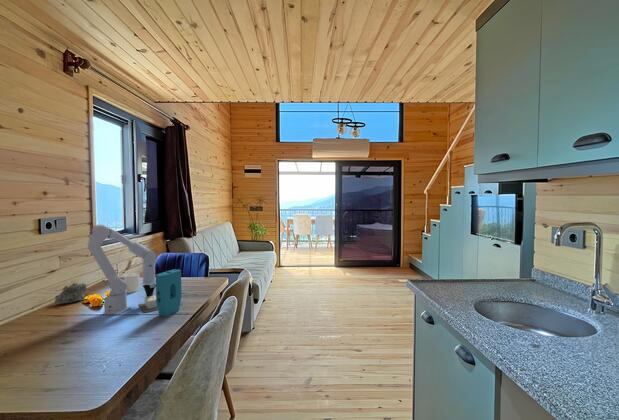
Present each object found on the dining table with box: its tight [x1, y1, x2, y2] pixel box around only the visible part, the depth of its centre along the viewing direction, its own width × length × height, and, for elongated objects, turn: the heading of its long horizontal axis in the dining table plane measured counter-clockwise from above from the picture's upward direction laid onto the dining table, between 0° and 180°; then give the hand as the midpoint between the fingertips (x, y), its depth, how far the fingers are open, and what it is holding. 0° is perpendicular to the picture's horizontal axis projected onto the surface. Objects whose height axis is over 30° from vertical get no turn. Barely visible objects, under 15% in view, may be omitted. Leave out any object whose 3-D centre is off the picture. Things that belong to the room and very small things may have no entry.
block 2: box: [155, 268, 182, 317], centre depth 144 cm, size 12×5×20 cm, turn 160°
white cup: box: [124, 272, 140, 294], centre depth 178 cm, size 8×8×10 cm
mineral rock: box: [54, 282, 88, 305], centre depth 160 cm, size 13×11×10 cm
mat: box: [138, 302, 158, 314], centre depth 152 cm, size 14×10×1 cm
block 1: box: [144, 294, 157, 309], centre depth 152 cm, size 4×5×8 cm
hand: (149, 298), depth 156 cm, fingers closed
